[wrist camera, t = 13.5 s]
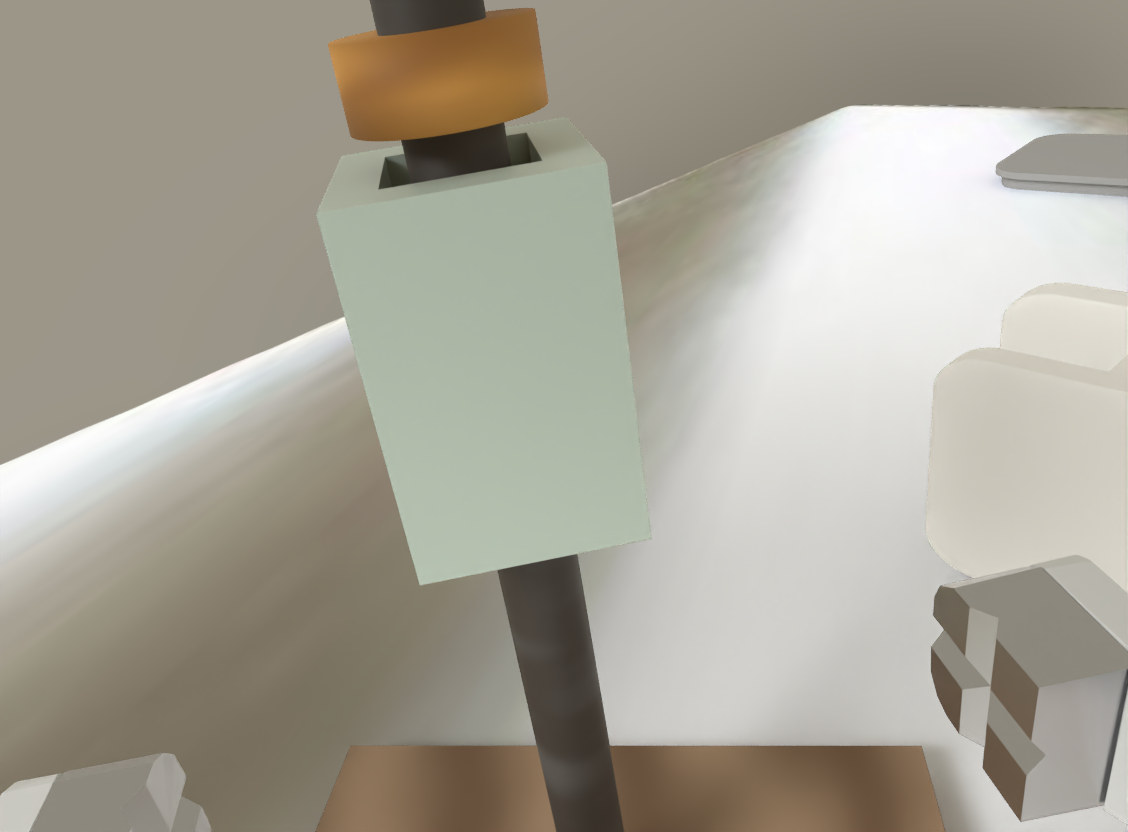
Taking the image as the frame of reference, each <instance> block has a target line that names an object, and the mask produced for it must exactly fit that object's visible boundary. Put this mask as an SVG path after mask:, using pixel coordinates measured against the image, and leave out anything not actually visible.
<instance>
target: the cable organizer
mask: <svg viewBox="0 0 1128 832" xmlns="http://www.w3.org/2000/svg"><path fill="white" fill-rule="evenodd" d="M925 530H926V536H927V539H928V541H929V543H930V545H931V546H932V548H933V549H934V551H935V552H936V553H937V554H938V555H939V556H940V557H941V558H942V559H943V560H944V561H945V562H946V563H947V564H949V565H950V566H951V567H953V568H954V569H956V570H957V571H959V572H961V573H963V574H965V575H967V576H969V577H971V578H977V577H981V576H986V575H990V574H995V573H999V572H1004V571H1008V570H1012V569H1017V568H1021V567H1029V566H1031V565H1033V564H1037V563H1042V562H1046V561H1050V560H1055V559H1059V558H1063V557H1068V556H1072V555H1079V556H1082V557H1084V558H1087V559H1089V560H1091V561H1092V562H1093V563H1094V564H1095V565H1096V566H1097V567H1099V568H1100V569H1101V570H1102V571H1103V572H1104V573H1105V574H1107V575H1108V576H1109V577H1110V578H1111V579H1112V580H1113V581H1114V582H1116V583H1117V584H1118V585H1119V586H1120V587H1121V588H1122V589H1123V590H1125V591H1126V592H1127V593H1128V293H1127V292H1121V291H1114V290H1108V289H1102V288H1095V287H1089V286H1083V285H1076V284H1069V283H1054V284H1047V285H1043V286H1039V287H1037V288H1034V289H1032V290H1031V291H1029V292H1027V293H1026V294H1025V295H1023V296H1022V297H1021V298H1019V299H1018V300H1016V301H1015V302H1014V303H1012V304H1011V305H1010V306H1009V307H1008V308H1007V310H1006V311H1005V313H1004V315H1003V320H1002V328H1001V339H1000V348H980V349H975V350H972V351H969V352H966V353H964V354H963V355H961V356H959V357H958V358H957V359H955V360H954V361H953V362H951V363H950V364H949V365H947V366H946V367H945V368H944V369H942V370H941V371H940V373H939V374H938V375H937V377H936V379H935V382H934V389H933V406H932V423H931V439H930V456H929V473H928V489H927V506H926V523H925Z"/></svg>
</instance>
